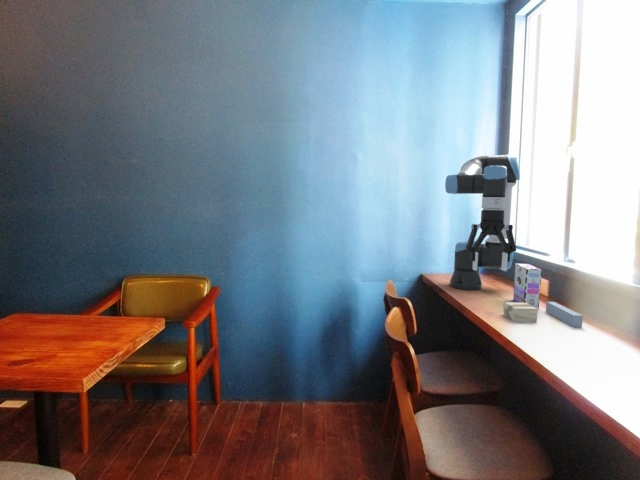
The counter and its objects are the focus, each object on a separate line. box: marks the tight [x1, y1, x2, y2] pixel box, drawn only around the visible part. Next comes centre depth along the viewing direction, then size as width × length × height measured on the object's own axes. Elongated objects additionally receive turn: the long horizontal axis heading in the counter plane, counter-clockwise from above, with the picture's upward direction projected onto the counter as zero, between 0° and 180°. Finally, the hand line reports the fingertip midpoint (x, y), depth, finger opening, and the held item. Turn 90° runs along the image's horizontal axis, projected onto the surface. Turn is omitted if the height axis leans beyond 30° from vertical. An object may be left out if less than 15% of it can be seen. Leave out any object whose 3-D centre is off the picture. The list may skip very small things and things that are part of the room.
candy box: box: [512, 263, 543, 310], centre depth 150 cm, size 14×6×16 cm, turn 168°
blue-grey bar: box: [545, 301, 584, 328], centre depth 132 cm, size 17×3×4 cm, turn 176°
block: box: [503, 301, 539, 323], centre depth 133 cm, size 8×8×5 cm
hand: (489, 270), depth 132 cm, fingers open, 10 cm apart
